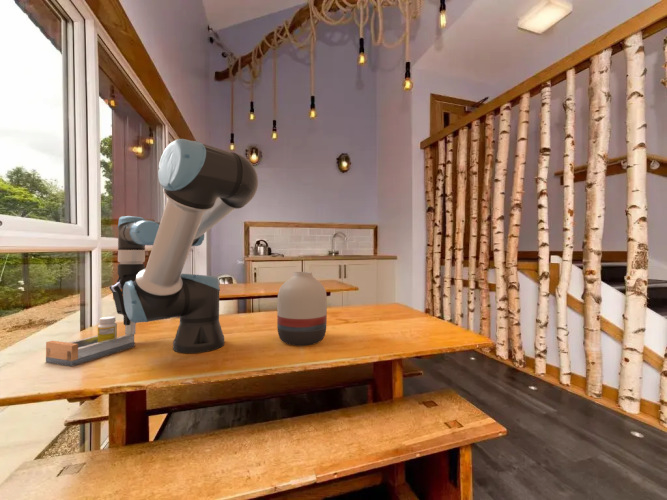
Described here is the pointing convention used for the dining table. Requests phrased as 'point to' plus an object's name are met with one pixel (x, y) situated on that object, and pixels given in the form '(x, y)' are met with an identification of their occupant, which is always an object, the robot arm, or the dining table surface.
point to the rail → (85, 349)
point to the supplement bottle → (107, 328)
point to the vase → (302, 310)
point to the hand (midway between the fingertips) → (130, 334)
